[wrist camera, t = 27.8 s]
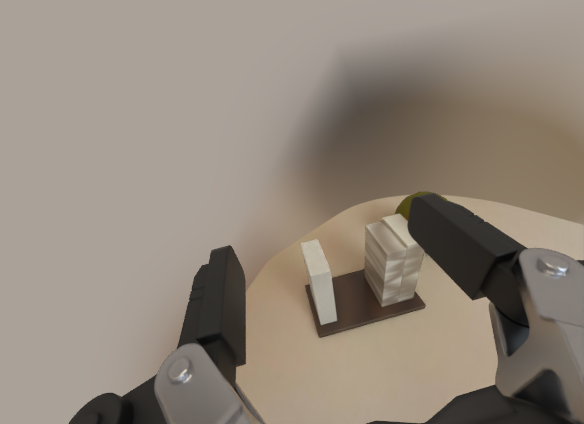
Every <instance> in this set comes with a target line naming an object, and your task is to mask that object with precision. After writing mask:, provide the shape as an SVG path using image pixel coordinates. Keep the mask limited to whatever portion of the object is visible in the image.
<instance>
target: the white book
mask: <svg viewBox="0 0 584 424" xmlns="http://www.w3.org/2000/svg"><path fill="white" fill-rule="evenodd" d="M300 245H301V249H302V253H303V258H304V262H305V267H306V271H307V275H308V280H309V284H310V289H311V293H312V296H313V300H314V303H315V307H316V310H317V313H318V317H319V320H320V324H321V325H323V324H327V323H330V322H334V321H337V316H336V308H335V300H334V292H333V284H332V276H331V270H330V268H329V265H328V263H327V260H326V258H325V256H324V253H323V251H322V248H321V246H320V243H319V241H318V239H315V240H311V241H307V242H304V243H300Z"/></svg>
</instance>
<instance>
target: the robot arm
mask: <svg viewBox="0 0 584 424" xmlns="http://www.w3.org/2000/svg"><path fill="white" fill-rule="evenodd" d="M407 228H408V232H409V234H410V236H411V237H412V238H413V239H414V240H415V241H416V242H417V243H418V245H419V246H420V247H421V248H422V249H423V250H424V251H425V252H426V253H427V254H428V255H429V256H430V257H431V258H432V259H433V260H434V261H435V262H436V263H437V264H438V265H439V266H440V267H441V268H442V269H443V270H444V271H445V272H446V274H447V275H448V276H449V277H450V278H451V279H452V280H453V281H454V282H455V283H456V284H457V285H458V286H459V287H460V288H461V289H462V290H463V291H464V292H465V293H466V294H467V295H468V296H469V297H470V298H471V299H472V300H476V299H479V298H483V297H487V298H488V299H489V300H490V301H491V302H490V303H489V312H490V317H491V323H492V328H493V333H494V339H495V344H496V350H497V355H498V368H497V371H496V378H495V385H492V386H489V387H486V388H482V389H479V390H476V391H473V392H469V393H466V394H463V395H459V396H457V397H455V398H454V399H453V400H452V401H451V402H450V403H448V404H447V405H446V406H445V407H444V408H442V409H441V410H440V411H439V412H438V413H437V414H435V415H434V416H433V417H432V418H431V419H430V420H428V421H427V422H425V423H404V422H388V421H374V422H370V423H367V424H584V260H574V259H573V258H571V257H569V256H567V255H565V254H562V253H559V252H556V251H553V250H549V249H543V248H530V249H528V248H526V247H525V246H523V245H521V244H520V243H518V242H517V241H515V240H514V239H512V238H511V237H509V236H508V235H506V234H505V233H503V232H501V231H500V230H498V229H497V228H495V227H494V226H492V225H491V224H489V223H488V222H484V220H483V219H481V218H480V217H478V216H477V215H474V213H472V212H471V211H469V210H468V209H466V208H465V207H463V206H461V205H458V204H455V203H452V202H450V201H445V200H444V199H442V198H441V197H439V196H438V195H437V194H435V193H428V194H425V195H421V196H417V197H414V198H413V199H412V200H411V205H410V211H409V217H408V223H407ZM189 300H190V301H189V302H188V306H187V310H186V315H185V319H184V323H183V327H182V332H181V336H180V340H179V344H178V347H177V349H176V350H175V351H174V352H172V353H171V354H170V355H169V356H168V357H167V359H166V360H165V361H164V362H163V364H162V365H161V367H160V369H159V371H158V374H156V375H155V376H154V377H152V378H151V379H149V380H148V381H146V382H145V383H143V384H141V385H140V386H138V387H137V388H135V389H133V390H132V391H130V392H129V393H127V394H126V395H124V396H122V397H121V396H118V395H116V394H114V393H105V394H102V395H100V396H97V397H96V398H94V399H92V400H91V401H90V402H88V403H87V404H86V405H85V406H84V407H82V408H81V409H80V410H79V412H77V414H76V415H75V416H74V417H73V418H72V419H71V421H70V422H69V424H266V423H265V421H264V420H263V419H262V417H261V416H260V415H259V413H258V412H257V410H256V409H255V408H254V406H253V405H252V404H251V402H250V401H249V399H248V398H247V397H246V395H245V394H244V392H243V391H242V390H241V388H240V387H239V386H238V384H237V383H236V382H235V381H236V367H237V366H241V365H244V364H246V295H245V275H244V271H243V269H242V266H241V264H240V262H239V260H238V258H237V256H236V254H235V253H234V250H233V248H232V247H231V246H230V245H229V246H225V247H222V248H218V249H214V250H212V251H211V254H210V260H209V264H206V265H202V266H201V268H200V269H199V271H198V272H197V274H196V275H195V277H194V281H193V285H192V291H191V294H190V298H189Z"/></svg>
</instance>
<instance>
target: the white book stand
mask: <svg viewBox="0 0 584 424" xmlns="http://www.w3.org/2000/svg"><path fill="white" fill-rule="evenodd" d="M407 223H408V221H407V220H406V219H405V218H404V217H403V216H402V215H401V214H395V215H391V216H387V217H384V218H383V220H382V221H380V222H376V223H372V224H369V225H365V269H363V270H360V271H356V272H352V273H349V274H345V275H342V276H338V277H334V278H332V284H333V292H334V300H335V308H336V316H337V321H334V322H330V323H327V324H323V325H321V324H320V320H319V317H318V313H317V310H316V307H315V303H314V300H313V296H312V293H311V289H310V284H309V285H305V287H306V291H307V294H308V298H309V302H310V306H311V309H312V313H313V317H314V320H315V324H316V328H317V331H318V335H319V338H321V337H324V336H328V335H331V334H335V333H338V332H342V331H345V330H349V329H352V328H356V327H359V326H363V325H366V324H370V323H373V322H377V321H381V320H384V319H388V318H391V317H395V316H398V315H402V314H405V313H409V312H412V311H416V310H419V309H423V308H425V306H426V305H425V304H424V302H423V301H422V300H421V298H420V297H419V296H418V294H417V293H416V292H415V289H416V284H417V280H418V276H419V272H420V268H421V264H422V260H423V256H424V252H425V251H424V250H423V249H422V248H421V247H420V246H419V245H418V243H417V242H416V241H415V240H414V239H413V238H412V237H411V236H410V234H409V232H408V228H407Z"/></svg>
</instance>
